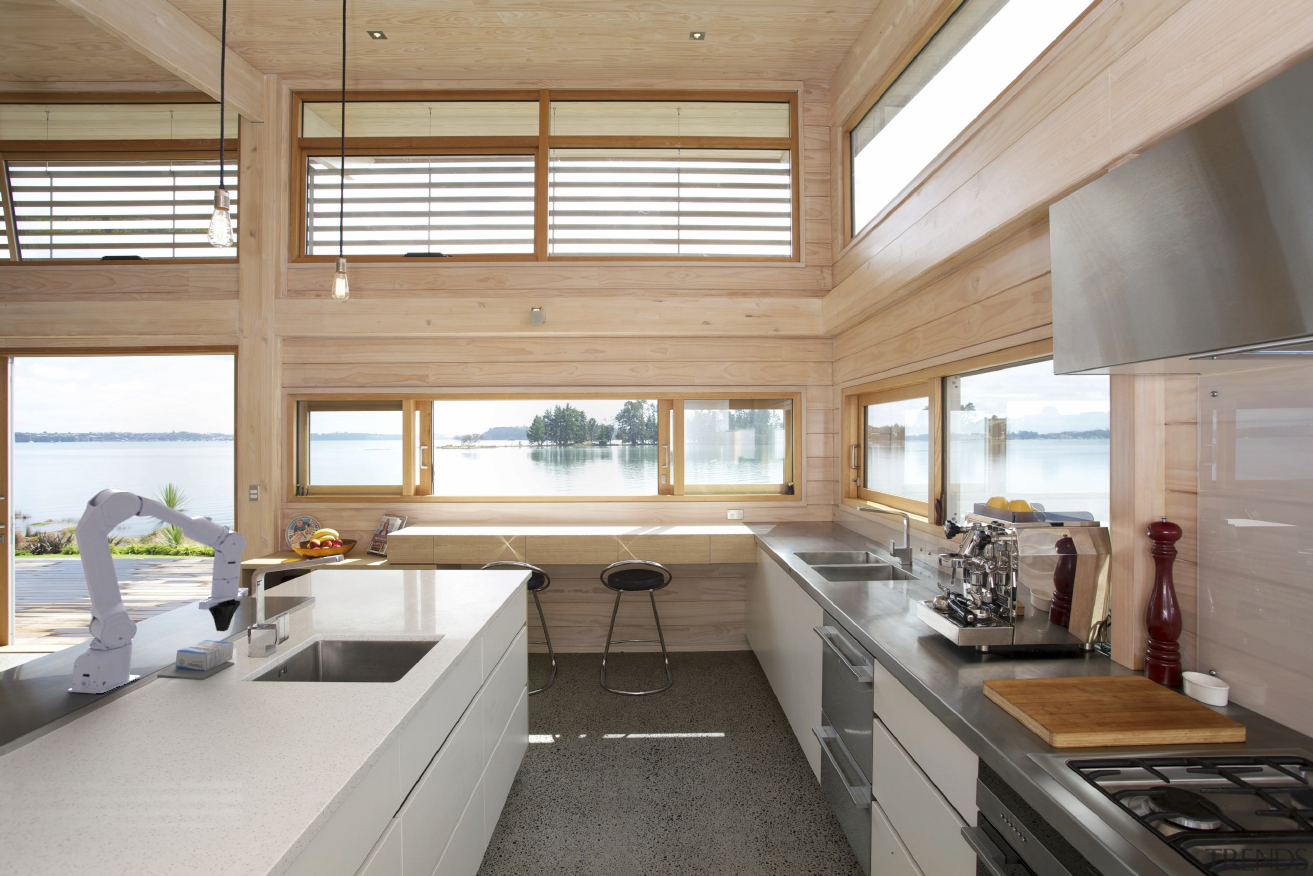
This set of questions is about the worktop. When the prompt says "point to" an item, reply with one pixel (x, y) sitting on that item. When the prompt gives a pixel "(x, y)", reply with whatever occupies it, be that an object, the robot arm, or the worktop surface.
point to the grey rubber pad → (194, 672)
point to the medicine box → (204, 655)
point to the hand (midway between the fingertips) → (222, 630)
